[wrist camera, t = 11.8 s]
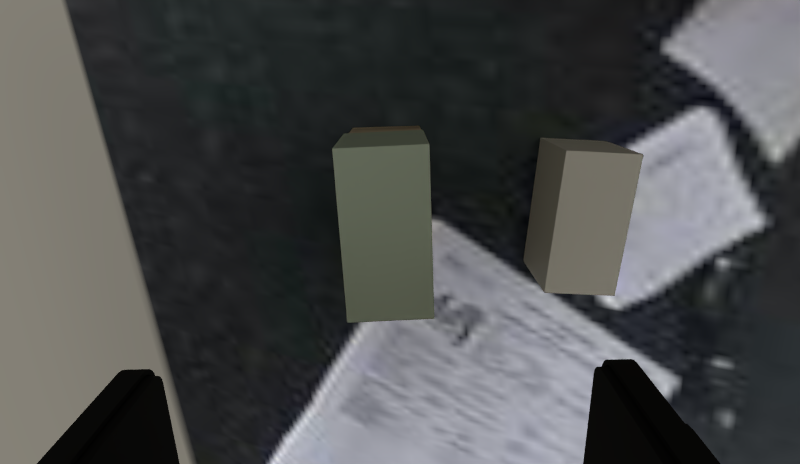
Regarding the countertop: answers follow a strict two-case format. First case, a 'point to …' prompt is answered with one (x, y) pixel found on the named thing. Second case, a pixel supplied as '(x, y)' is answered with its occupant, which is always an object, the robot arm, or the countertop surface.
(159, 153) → the countertop surface
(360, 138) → the sage brick
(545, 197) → the offwhite brick
